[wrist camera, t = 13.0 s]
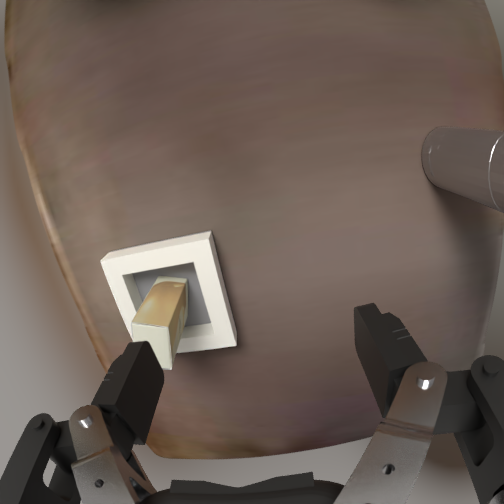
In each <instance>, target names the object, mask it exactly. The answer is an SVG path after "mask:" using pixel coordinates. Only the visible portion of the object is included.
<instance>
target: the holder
mask: <svg viewBox="0 0 504 504" xmlns="http://www.w3.org/2000/svg"><path fill="white" fill-rule="evenodd" d="M101 264H102V267H103V270H104V273H105V275H106V278H107V281H108V283H109V286H110V288H111V291H112V293H113V296H114V298H115V301H116V303H117V306H118V308H119V310H120V313H121V315H122V318H123V320H124V322H125V324H126V327H127V329H128V331H129V333H130V336H131V338H132V340H133V337H132V330H131V321H132V320H133V318H134V316H135V315H136V313H137V311H138V310H139V308H140V306H141V304H142V303H143V301H144V299H145V298H146V296H147V294H148V293H149V291H150V289H151V288H152V286H153V284H154V283H155V281H156V279H157V278H158V276H167V277H177V278H186V279H187V281H188V316H187V319H186V322H185V326H184V329H183V332H182V335H181V339H180V342H179V345H178V349H177V352H176V353H183V352H192V351H201V350H209V349H217V348H224V347H231V346H237V330H236V326H235V322H234V318H233V314H232V311H231V307H230V303H229V299H228V295H227V291H226V287H225V283H224V279H223V275H222V271H221V267H220V263H219V259H218V255H217V251H216V247H215V243H214V238H213V234H212V230H210V231H205V232H200V233H195V234H190V235H185V236H180V237H175V238H170V239H165V240H160V241H156V242H151V243H146V244H141V245H137V246H132V247H127V248H123V249H118V250H114V251H110V252H109V253H108V254H107V255H106V256H105V257H104V258H103V259H102V260H101Z"/></svg>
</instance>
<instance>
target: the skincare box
mask: <svg viewBox="0 0 504 504" xmlns="http://www.w3.org/2000/svg"><path fill="white" fill-rule="evenodd" d="M187 316H188V281H187V279H186V278H177V277H167V276H158V278H157V279H156V281H155V283H154V284H153V286H152V288H151V289H150V291H149V293H148V294H147V296H146V298H145V299H144V301H143V303H142V304H141V306H140V308H139V310H138V311H137V313H136V315H135V316H134V318H133V320H132V321H131V330H132V337H133V342H138V341H148V342H149V343H150V344H151V346H152V349H153V351H154V353H155V355H156V357H157V359H158V361H159V363H160V365H161V367H162V369H169V370H171V369H172V366H173V362H174V359H175V355H176V352H177V349H178V345H179V342H180V339H181V335H182V332H183V329H184V326H185V322H186V319H187Z"/></svg>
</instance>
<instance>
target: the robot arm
mask: <svg viewBox="0 0 504 504" xmlns="http://www.w3.org/2000/svg"><path fill="white" fill-rule="evenodd" d="M422 164H423V168H424V171H425V174H426V175H427V177H428V179H429V180H430V181H431V182H432V183H433V184H434V185H435V186H437V187H439V188H442V189H445V190H447V191H450V192H453V193H455V194H458V195H460V196H463V197H466V198H468V199H471V200H473V201H476V202H478V203H481V204H483V205H486V206H488V207H491V208H493V209H495V210H498V211H500V212H502V213H504V131H499V130H488V129H476V128H462V127H438V128H436V129H434V130H432V131H431V132H430V133H429V134H428V136H427V138H426V139H425V142H424V144H423V149H422ZM354 330H355V346H356V351H357V354H358V357H359V359H360V361H361V364H362V366H363V369H364V371H365V374H366V376H367V379H368V381H369V384H370V386H371V389H372V391H373V394H374V396H375V399H376V401H377V404H378V407H379V409H380V412H381V414H382V417H383V418H385V417H386V418H385V420H384V422H381V423H380V424H379V426H378V427H377V429H376V431H375V433H374V435H373V437H372V439H371V441H370V443H369V445H368V447H367V448H366V450H365V452H364V454H363V456H362V458H361V460H360V461H359V463H358V465H357V466H356V468H355V470H354V472H353V473H352V475H351V477H350V478H349V480H348V482H347V483H346V485H345V486H344V485H341V484H338V483H334V482H330V481H323V480H314V479H313V472H309V473H302V474H295V475H289V476H280V477H275V478H271V479H268V480H265V481H262V482H258V483H255V484H251V485H248V486H244V487H239V488H237V487H231V486H225V485H220V484H215V483H211V482H206V481H185V480H172V482H171V487H170V489H166V490H162V491H159V492H157V491H156V490H155V488H154V487H153V486H152V484H151V482H150V481H149V479H148V477H147V475H146V474H145V472H144V470H143V468H142V466H141V464H140V463H139V461H138V459H137V457H136V455H135V453H134V452H133V450H132V447H133V444H139V445H145V443H146V439H147V436H148V433H149V429H150V426H151V423H152V419H153V416H154V413H155V409H156V406H157V403H158V400H159V397H160V393H161V390H162V387H163V384H164V373H163V369H162V367H161V365H160V363H159V361H158V359H157V357H156V355H155V353H154V351H153V349H152V346H151V344H150V343H149V342H148V341H138V342H130V343H129V344H128V345H127V347H126V349H125V351H124V353H123V355H120V356H119V357H118V358H117V359H116V360H115V361H114V362H113V363H112V364H111V366H110V368H109V370H108V374H106V376H105V378H104V381H102V383H101V385H100V387H99V389H98V391H97V393H96V395H95V397H94V399H93V401H92V403H91V405H85V406H82V407H80V408H78V409H77V410H75V411H74V412H73V414H72V415H71V417H70V419H69V420H67V421H62V422H55V421H54V420H53V418H52V417H51V416H50V415H49V414H46V413H42V414H39V415H36V416H35V417H33V418H32V419H31V420H30V421H29V423H28V424H27V426H26V428H25V430H24V432H23V434H22V436H21V438H20V440H19V441H18V444H17V445H16V448H15V450H14V452H13V454H12V456H11V458H10V460H9V462H8V464H7V466H6V469H5V471H4V473H3V475H2V477H1V480H0V504H80V501H81V500H82V503H83V504H405V503H406V501H407V499H408V497H409V495H410V493H411V490H412V488H413V486H414V484H415V481H416V479H417V477H418V474H419V472H420V469H421V467H422V464H423V462H424V459H425V456H426V454H427V451H428V448H429V445H430V442H431V439H432V436H433V435H434V434H445V433H454V436H455V438H456V440H457V443H458V445H459V448H460V450H461V453H462V455H463V458H464V460H465V463H466V466H467V468H468V471H469V474H470V476H471V479H472V482H473V484H474V488H475V490H476V493H477V496H478V499H479V502H480V504H504V361H503V360H502V359H500V358H499V357H496V356H491V355H487V356H482V357H479V358H478V359H476V360H475V361H474V362H473V364H472V366H471V369H470V370H465V371H455V372H446V371H445V369H444V368H443V367H441V366H440V365H438V364H436V363H434V362H428V361H427V359H426V358H425V356H424V354H423V353H422V351H421V350H420V348H419V347H418V345H417V344H416V342H415V341H414V339H413V338H412V336H410V333H409V332H408V330H407V329H405V326H404V325H403V323H402V322H401V320H400V319H399V318H397V317H396V316H394V315H393V314H391V313H385V314H381V313H380V311H379V309H378V308H377V306H376V305H375V304H374V303H370V304H366V305H362V306H358V307H355V308H354ZM49 458H50V459H51V460H52V461H53V462H54V463H55V464H56V468H55V471H54V473H53V476H52V479H51V481H50V484H49V487H47V486H46V485H45V484H44V482H43V473H44V470H45V468H46V465H47V463H48V461H49Z"/></svg>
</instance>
